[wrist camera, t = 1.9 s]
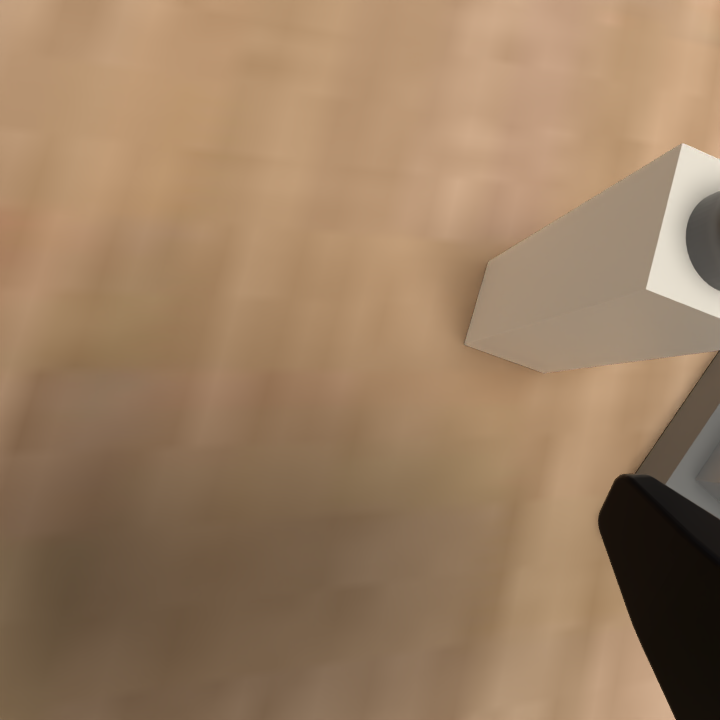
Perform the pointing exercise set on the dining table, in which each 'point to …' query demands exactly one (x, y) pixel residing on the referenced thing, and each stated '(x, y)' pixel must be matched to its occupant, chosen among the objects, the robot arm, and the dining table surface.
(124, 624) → the dining table surface
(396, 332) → the dining table surface
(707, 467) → the grey socket base
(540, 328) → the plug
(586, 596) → the dining table surface
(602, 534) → the robot arm
